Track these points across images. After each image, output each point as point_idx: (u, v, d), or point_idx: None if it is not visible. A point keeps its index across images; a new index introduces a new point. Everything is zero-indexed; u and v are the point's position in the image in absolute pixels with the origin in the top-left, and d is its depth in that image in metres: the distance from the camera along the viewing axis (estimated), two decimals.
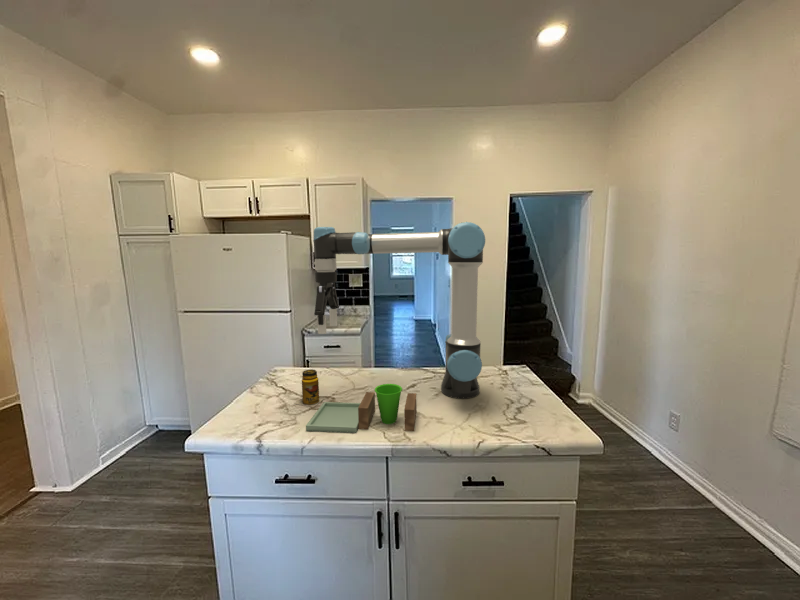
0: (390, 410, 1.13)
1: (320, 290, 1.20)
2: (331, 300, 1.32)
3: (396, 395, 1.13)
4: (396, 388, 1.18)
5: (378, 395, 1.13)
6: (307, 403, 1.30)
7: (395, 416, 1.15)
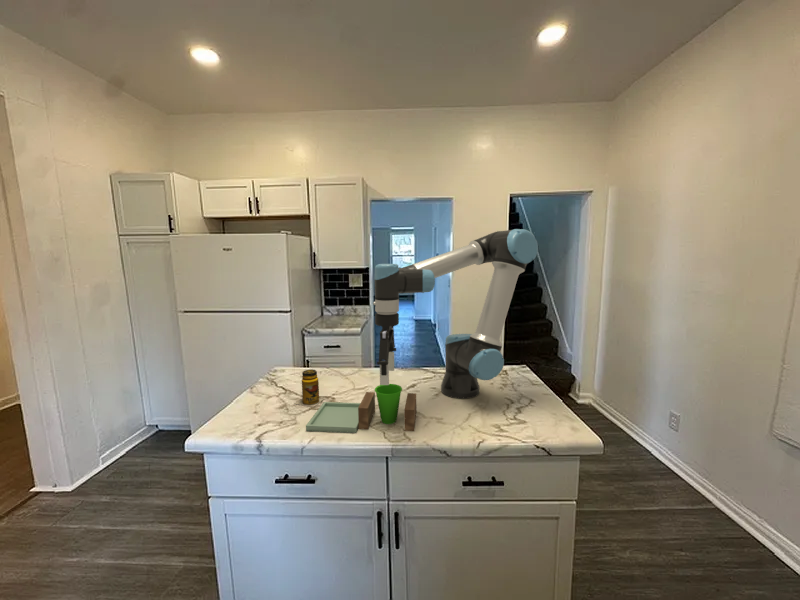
0: (390, 410, 1.13)
1: (384, 336, 1.06)
2: None
3: (396, 395, 1.13)
4: (396, 388, 1.18)
5: (378, 395, 1.13)
6: (307, 403, 1.30)
7: (395, 416, 1.15)
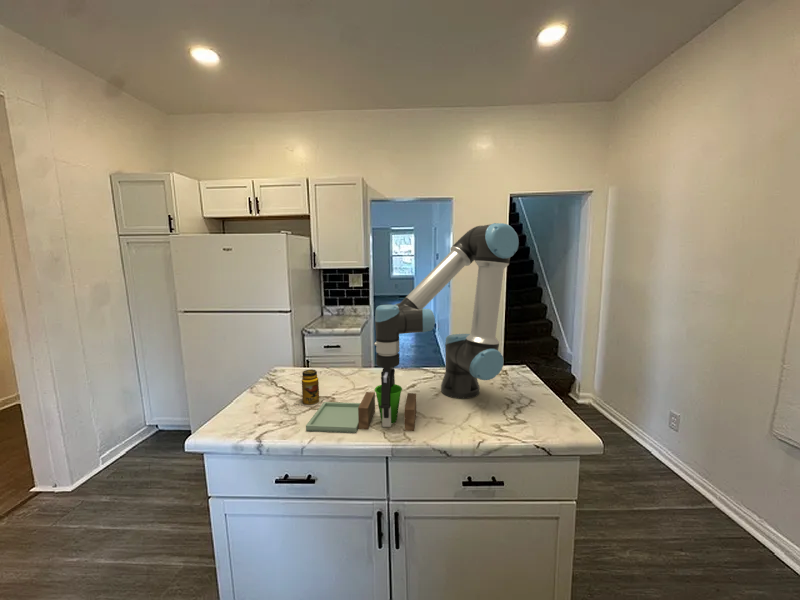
0: None
1: (385, 381, 1.08)
2: None
3: (396, 395, 1.13)
4: (396, 388, 1.18)
5: (378, 395, 1.13)
6: (307, 403, 1.30)
7: (395, 416, 1.15)
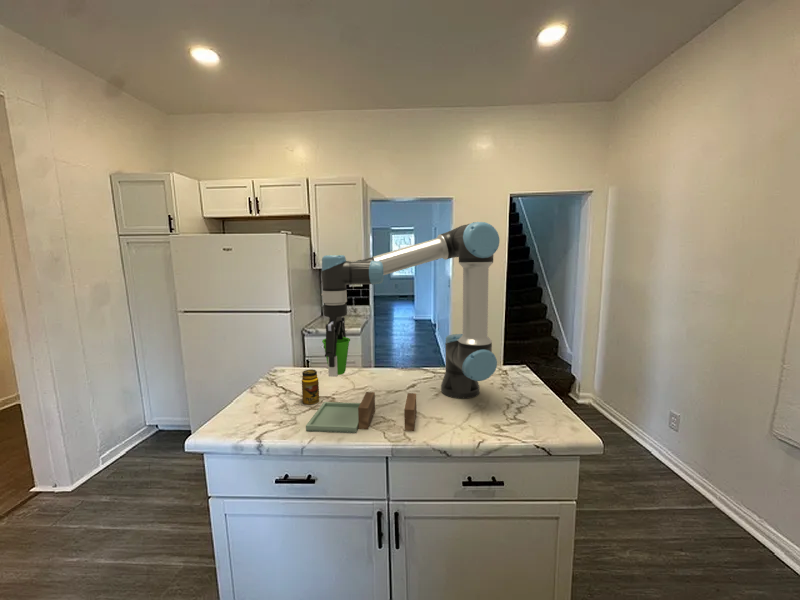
0: (337, 361, 1.13)
1: (329, 329, 1.08)
2: (339, 336, 1.18)
3: (343, 345, 1.12)
4: (346, 340, 1.18)
5: (325, 345, 1.13)
6: (307, 403, 1.30)
7: (342, 367, 1.14)
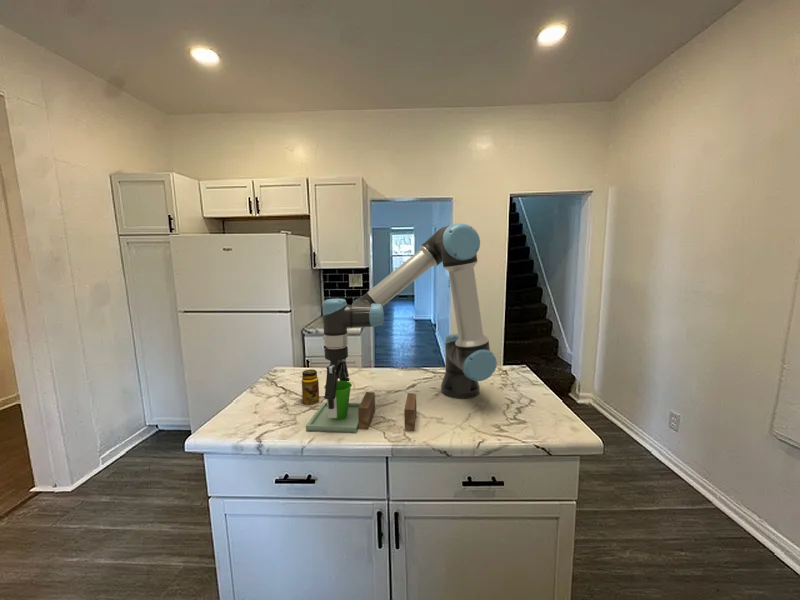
0: (339, 407, 1.15)
1: (330, 371, 1.09)
2: (341, 374, 1.21)
3: (344, 391, 1.15)
4: (347, 385, 1.20)
5: None
6: (307, 403, 1.30)
7: (344, 412, 1.17)
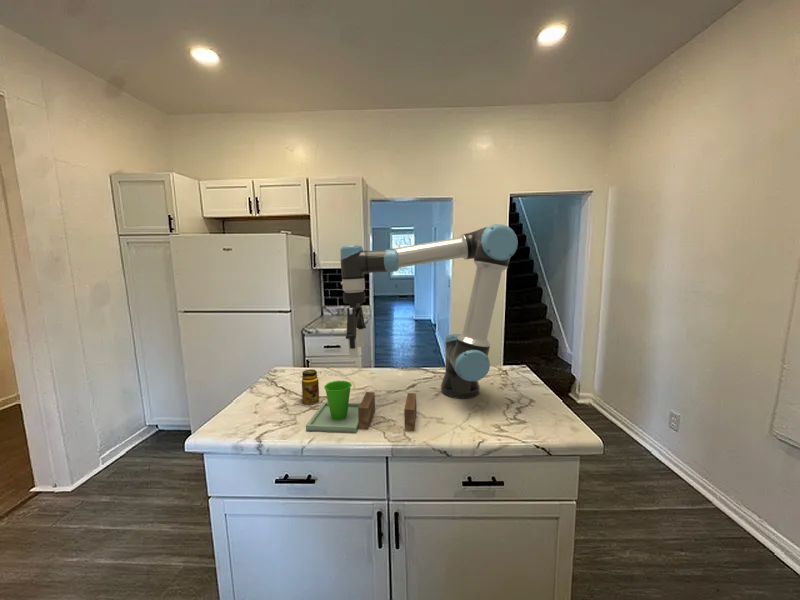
0: (339, 407, 1.15)
1: (351, 312, 1.14)
2: (358, 320, 1.26)
3: (344, 391, 1.15)
4: (347, 384, 1.20)
5: (327, 391, 1.15)
6: (307, 403, 1.30)
7: (344, 412, 1.17)
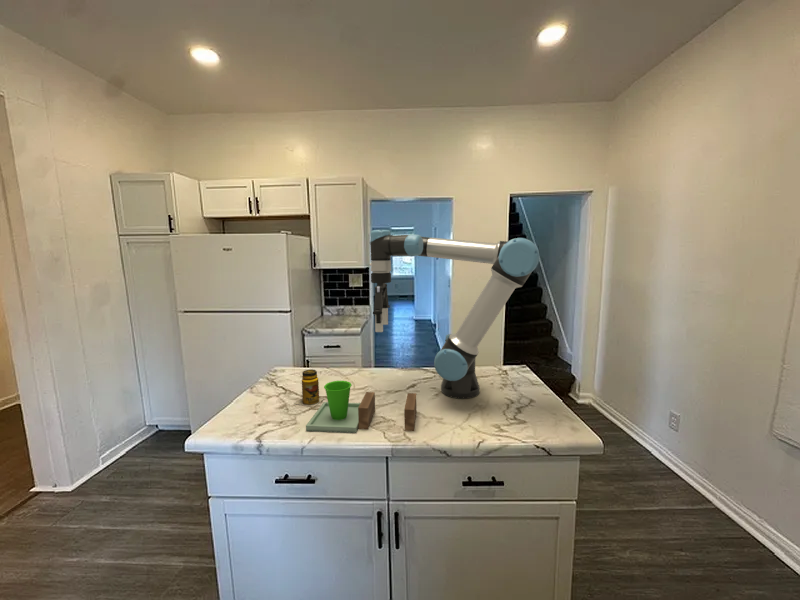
0: (339, 406, 1.15)
1: (378, 290, 1.26)
2: (383, 299, 1.38)
3: (344, 391, 1.15)
4: (347, 384, 1.20)
5: (327, 391, 1.15)
6: (307, 403, 1.30)
7: (344, 412, 1.17)
